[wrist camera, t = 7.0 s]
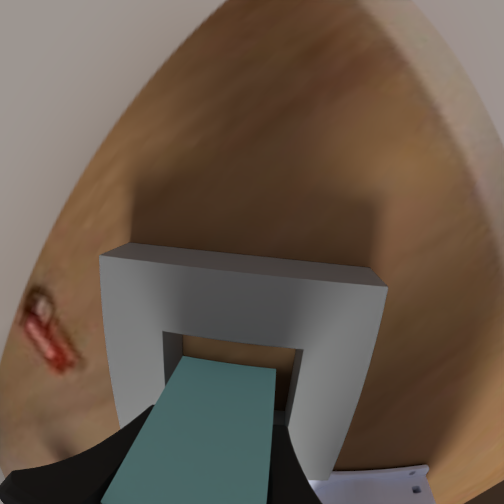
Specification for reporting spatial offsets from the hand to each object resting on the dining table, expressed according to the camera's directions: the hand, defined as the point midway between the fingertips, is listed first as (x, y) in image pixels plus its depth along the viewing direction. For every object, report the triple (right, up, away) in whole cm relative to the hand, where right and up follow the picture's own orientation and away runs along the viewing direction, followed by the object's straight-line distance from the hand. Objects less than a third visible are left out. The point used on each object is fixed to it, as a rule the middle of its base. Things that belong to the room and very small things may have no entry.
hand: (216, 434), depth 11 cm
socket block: (+1, +1, +5) cm, 6 cm away
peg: (0, 0, +2) cm, 2 cm away
